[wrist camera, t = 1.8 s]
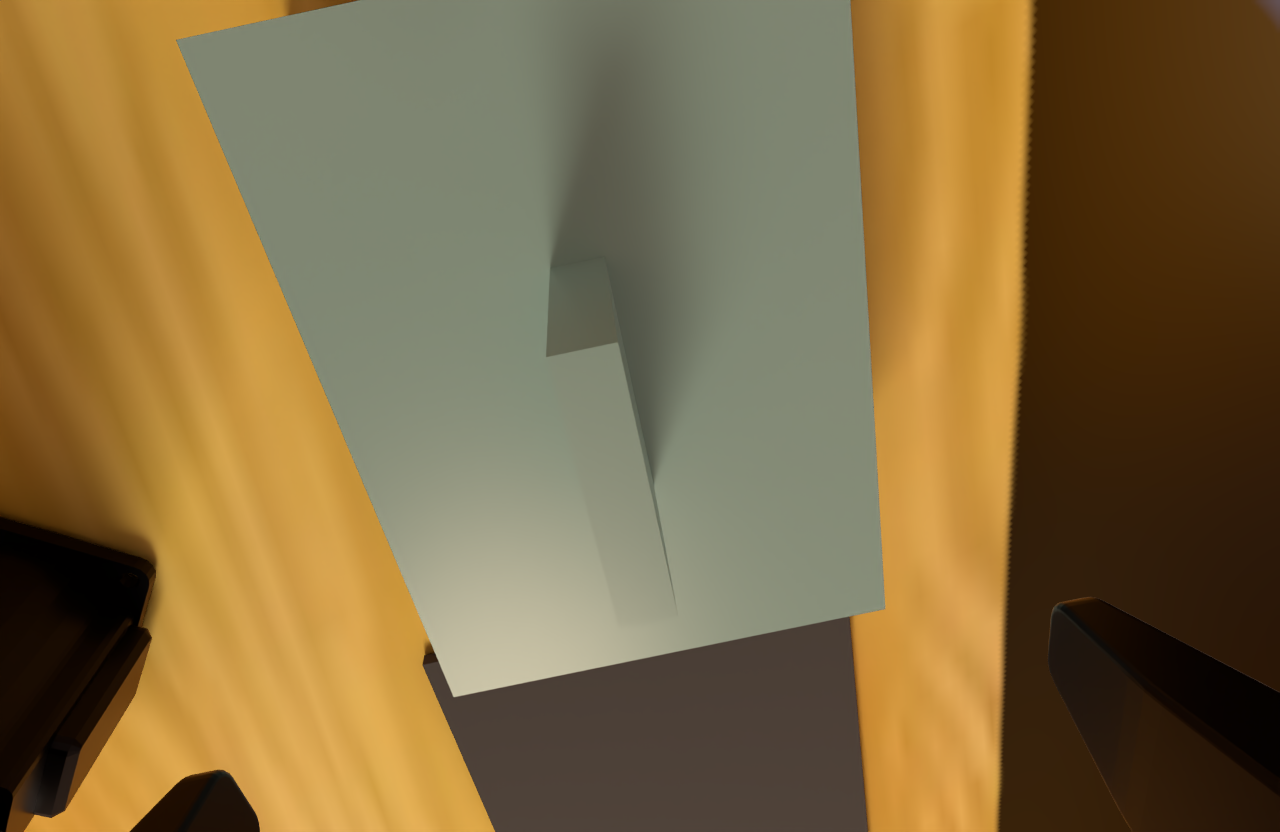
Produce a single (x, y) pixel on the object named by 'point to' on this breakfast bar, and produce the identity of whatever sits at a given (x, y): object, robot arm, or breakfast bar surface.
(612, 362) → the lid
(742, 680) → the mat
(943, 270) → the breakfast bar surface
